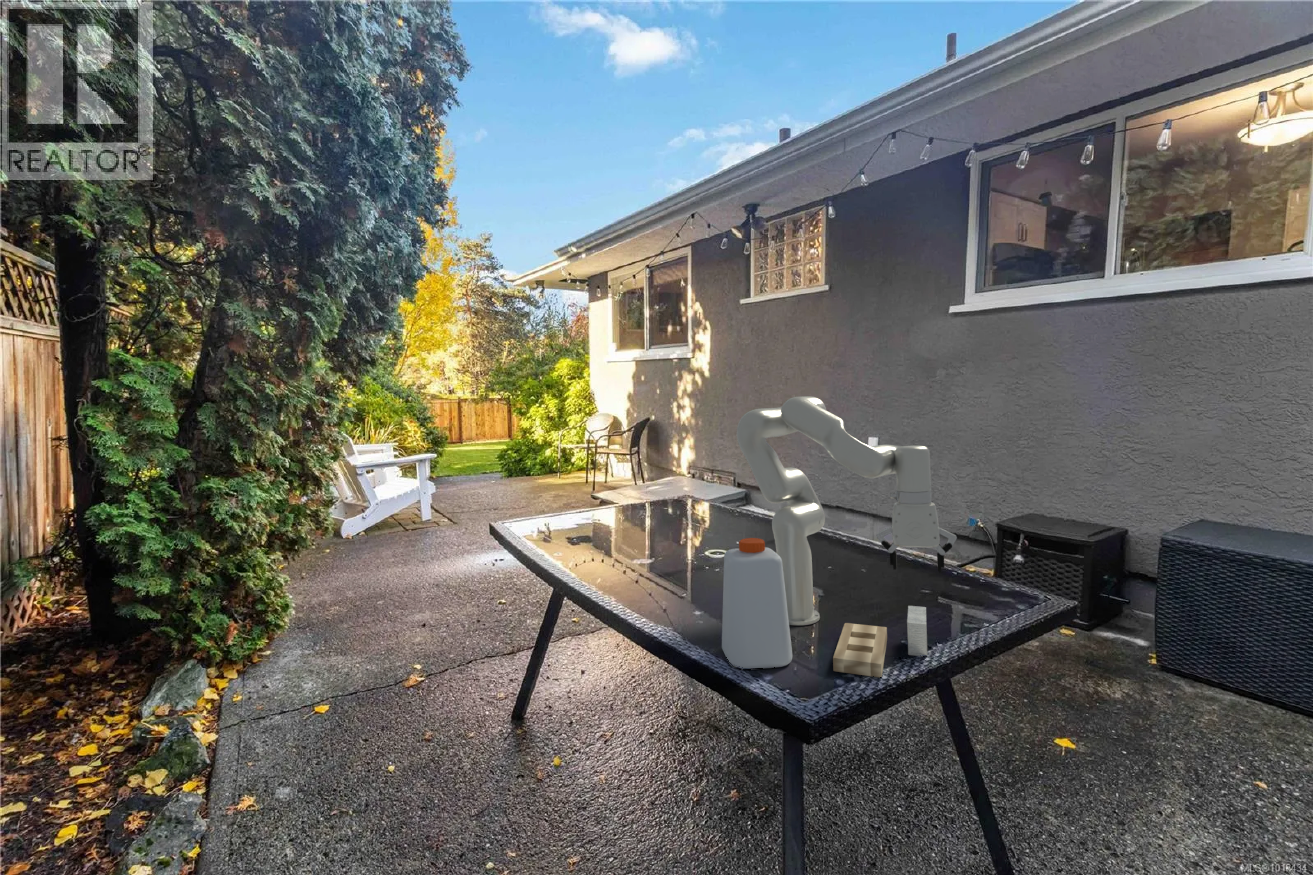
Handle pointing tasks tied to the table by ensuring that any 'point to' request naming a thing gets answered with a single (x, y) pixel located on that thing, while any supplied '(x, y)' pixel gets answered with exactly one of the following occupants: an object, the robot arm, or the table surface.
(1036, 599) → the table surface
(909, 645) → the brushed steel block
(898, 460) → the robot arm
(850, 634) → the birch rail
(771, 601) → the plastic bottle
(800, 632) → the table surface
